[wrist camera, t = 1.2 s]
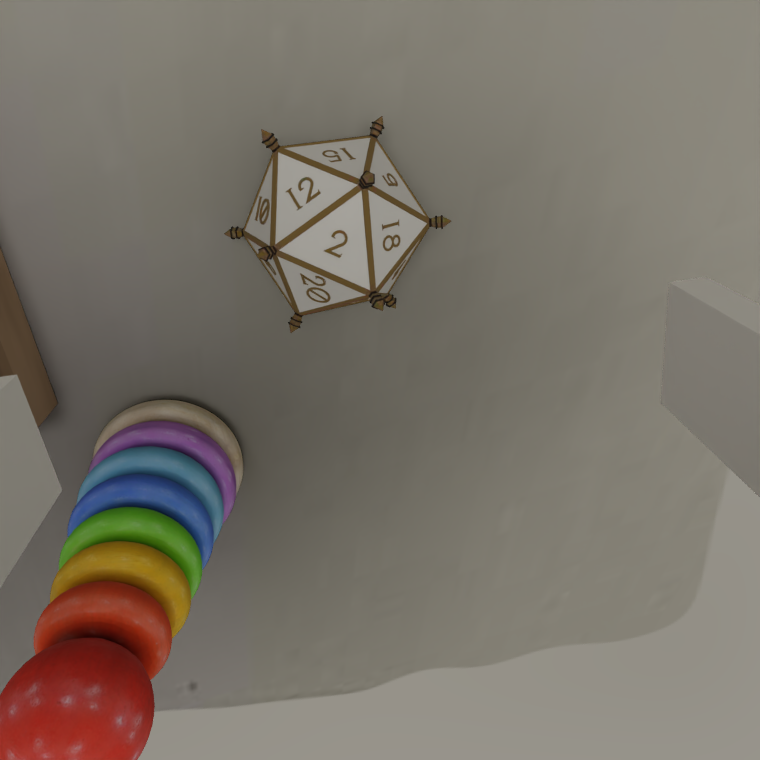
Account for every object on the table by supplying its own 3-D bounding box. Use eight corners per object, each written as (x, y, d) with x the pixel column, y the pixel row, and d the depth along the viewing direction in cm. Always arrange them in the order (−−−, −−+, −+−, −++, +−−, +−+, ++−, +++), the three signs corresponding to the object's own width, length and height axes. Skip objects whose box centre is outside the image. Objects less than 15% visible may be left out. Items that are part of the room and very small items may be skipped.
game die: (363, 217, 36) (447, 355, 31) (209, 244, 33) (275, 402, 28) (392, 58, 29) (507, 204, 24) (199, 72, 26) (286, 244, 21)
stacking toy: (70, 424, 35) (-158, 741, 18) (205, 372, 35) (96, 650, 18) (144, 532, 39) (7, 885, 22) (268, 486, 38) (227, 812, 21)
